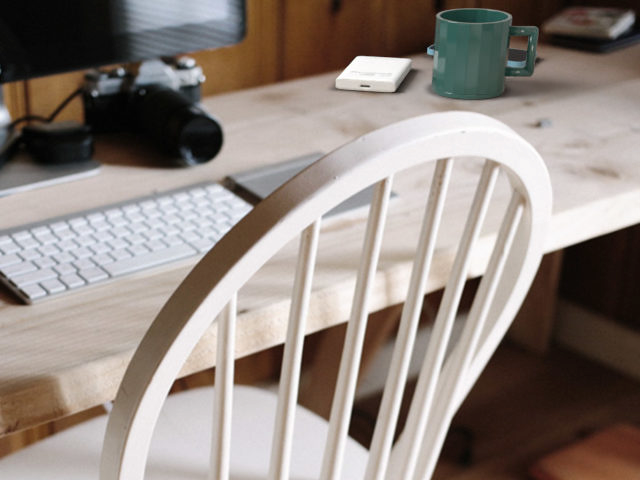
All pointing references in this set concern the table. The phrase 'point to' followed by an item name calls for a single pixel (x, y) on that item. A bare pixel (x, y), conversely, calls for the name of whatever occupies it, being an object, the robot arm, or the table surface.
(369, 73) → the hard drive
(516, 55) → the smartphone
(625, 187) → the table surface
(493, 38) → the mug
